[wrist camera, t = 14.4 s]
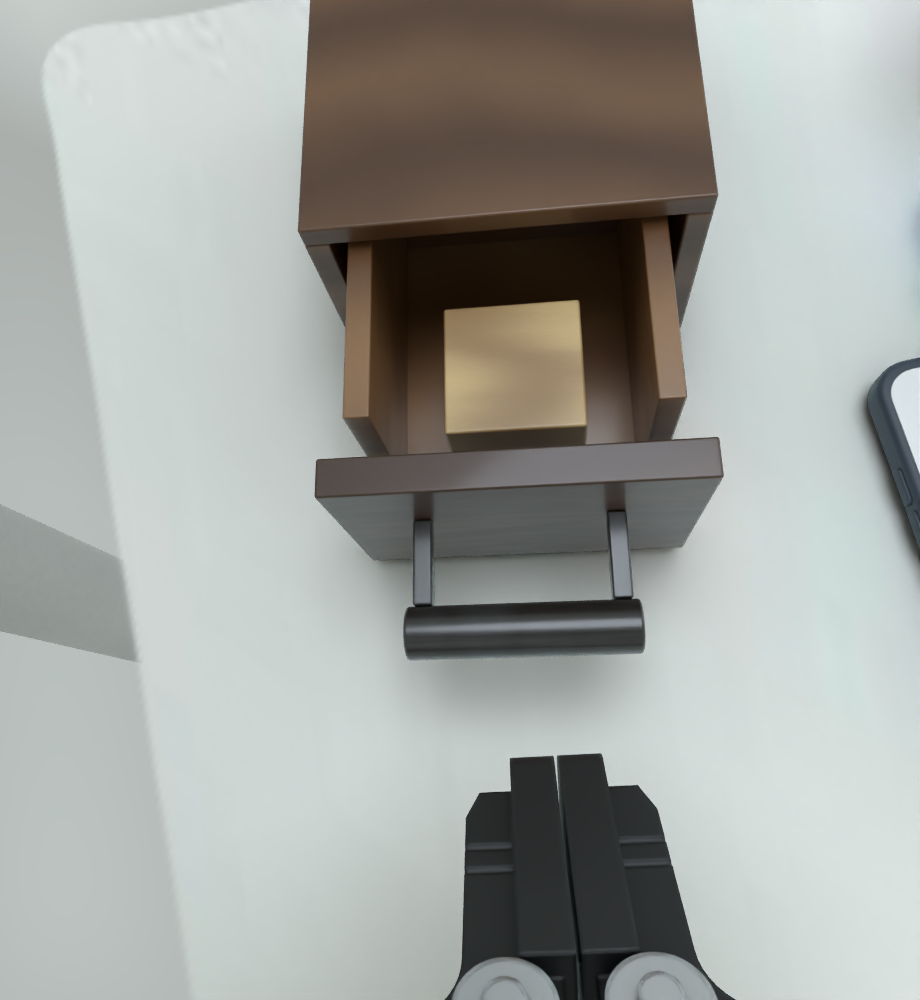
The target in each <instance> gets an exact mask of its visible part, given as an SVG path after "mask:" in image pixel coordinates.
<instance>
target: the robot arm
mask: <svg viewBox="0 0 920 1000" xmlns="http://www.w3.org/2000/svg"><path fill="white" fill-rule="evenodd" d="M557 771H558V790H557V781H556V773H555V764H554V757H553V756H543V757H523V758H510V776H511V791H509V792H488V793H479V795H478V797H477V799H476V800H475V802H474V804H473V806H472V808H471V810H470V811H469V813H468V815H467V817H466V836H465V874H464V907H463V943H462V964H461V970H460V974H459V977H458V980H457V982H456V984H455V986H454V988H453V989H452V991H451V992H450V994H449V995H448V997H447V998H446V999H445V1000H735V999H734V998H732V997H731V996H729V995H728V994H726V993H725V992H724V991H722V990H721V989H720V988H719V987H718V986H716V985H715V983H714V982H713V981H712V980H711V979H710V978H709V977H708V975H707V974H706V973H705V971H704V970H703V968H702V967H701V965H700V963H699V961H698V959H697V956H696V953H695V950H694V946H693V942H692V938H691V935H690V931H689V927H688V923H687V920H686V916H685V912H684V908H683V904H682V901H681V897H680V893H679V889H678V885H677V882H676V878H675V874H674V870H673V867H672V866H671V859H670V855H669V851H668V848H667V844H666V842H665V836H664V832H663V829H662V825H661V821H660V817H659V814H658V810H657V808H656V807H655V805H654V804H653V803H652V802H651V801H650V799H649V798H648V797H647V796H646V795H645V793H644V792H643V791H642V790H641V789H640V787H639V786H638V785H632V786H610V787H608V783H607V777H606V772H605V767H604V762H603V758H602V754H601V753H599V754H579V755H559V756H557ZM558 791H559V799H558Z"/></svg>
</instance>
